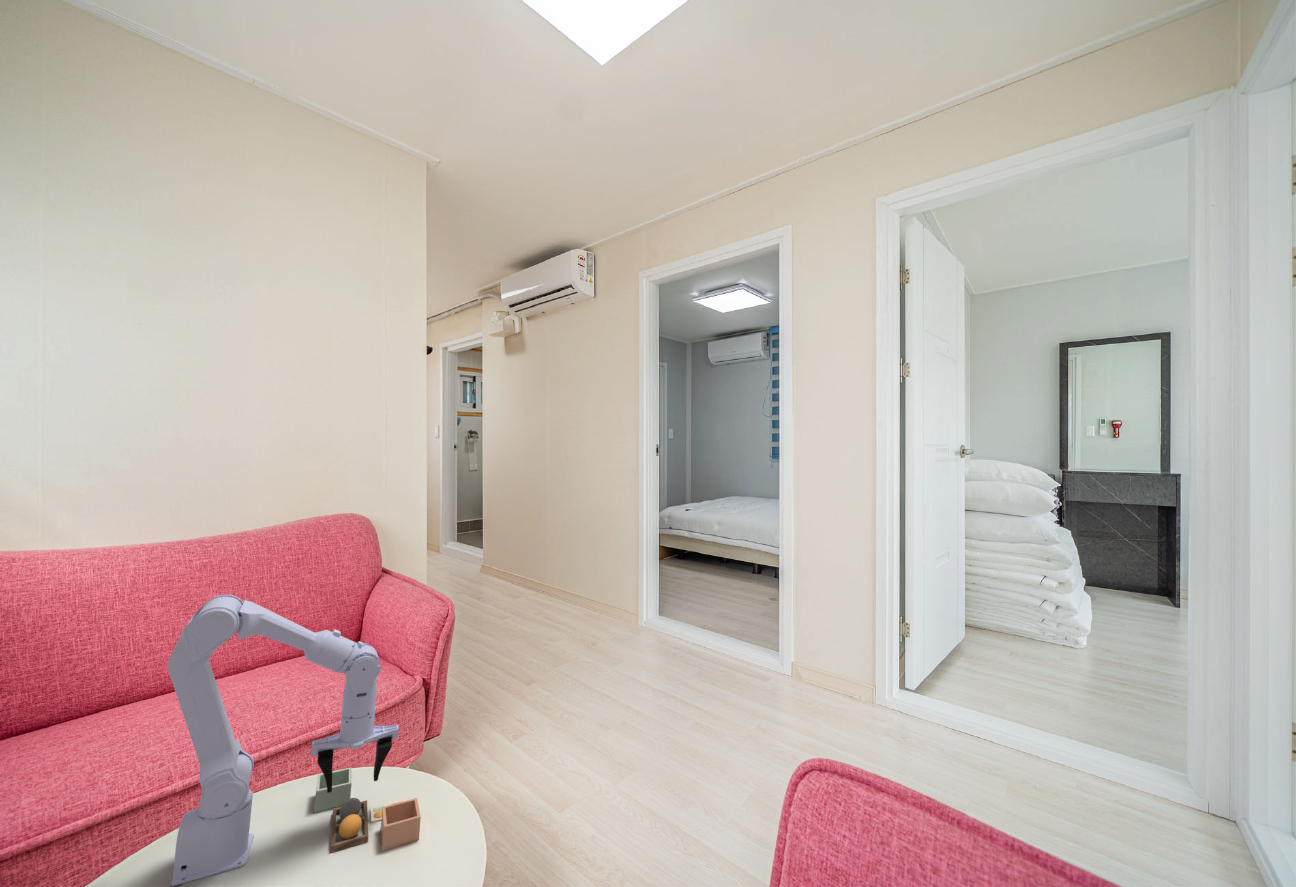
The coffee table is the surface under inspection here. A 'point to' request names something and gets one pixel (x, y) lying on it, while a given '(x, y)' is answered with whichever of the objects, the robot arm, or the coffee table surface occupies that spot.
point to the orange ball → (350, 826)
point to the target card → (378, 812)
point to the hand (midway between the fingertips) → (353, 783)
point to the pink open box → (400, 823)
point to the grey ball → (350, 807)
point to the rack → (354, 840)
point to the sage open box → (333, 790)
